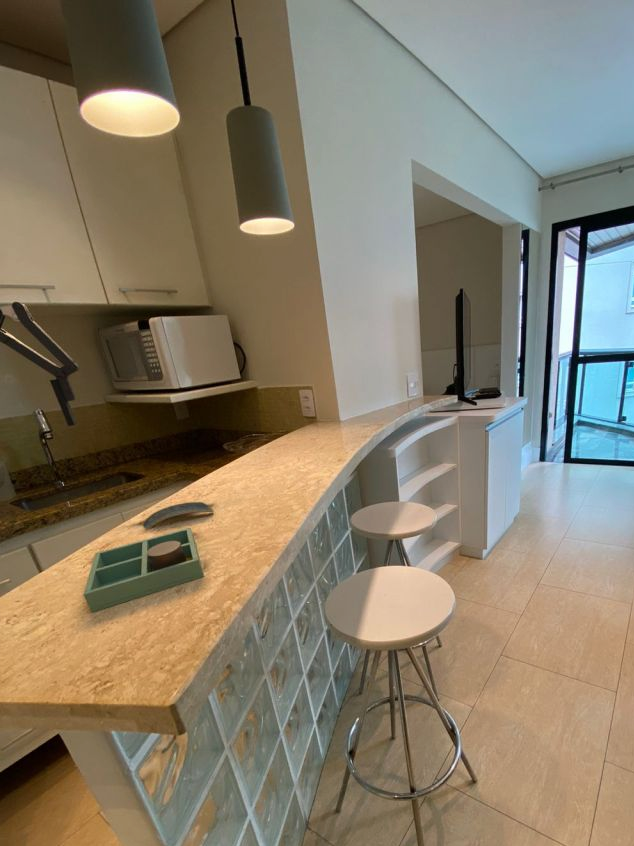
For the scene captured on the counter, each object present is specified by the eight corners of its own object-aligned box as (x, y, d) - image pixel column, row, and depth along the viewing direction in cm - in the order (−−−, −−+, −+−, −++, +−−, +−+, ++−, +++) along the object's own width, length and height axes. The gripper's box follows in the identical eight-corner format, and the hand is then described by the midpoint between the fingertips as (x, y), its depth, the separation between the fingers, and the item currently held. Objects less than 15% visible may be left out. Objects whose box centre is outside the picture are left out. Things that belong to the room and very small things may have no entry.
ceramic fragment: (144, 530, 86) (138, 513, 84) (148, 521, 90) (143, 505, 89) (214, 516, 90) (209, 499, 88) (215, 508, 94) (210, 492, 93)
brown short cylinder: (154, 568, 67) (146, 547, 66) (186, 558, 69) (179, 537, 68) (154, 581, 63) (146, 559, 62) (189, 571, 65) (181, 549, 64)
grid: (101, 568, 71) (95, 552, 70) (195, 541, 78) (190, 527, 76) (91, 612, 59) (83, 594, 57) (204, 576, 65) (198, 559, 64)
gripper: (-237, 258, 42) (-117, 457, 50) (53, 254, 52) (114, 420, 60) (-188, 272, 48) (-88, 447, 56) (63, 265, 58) (117, 415, 67)
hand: (17, 433), depth 58 cm, fingers open, 13 cm apart
